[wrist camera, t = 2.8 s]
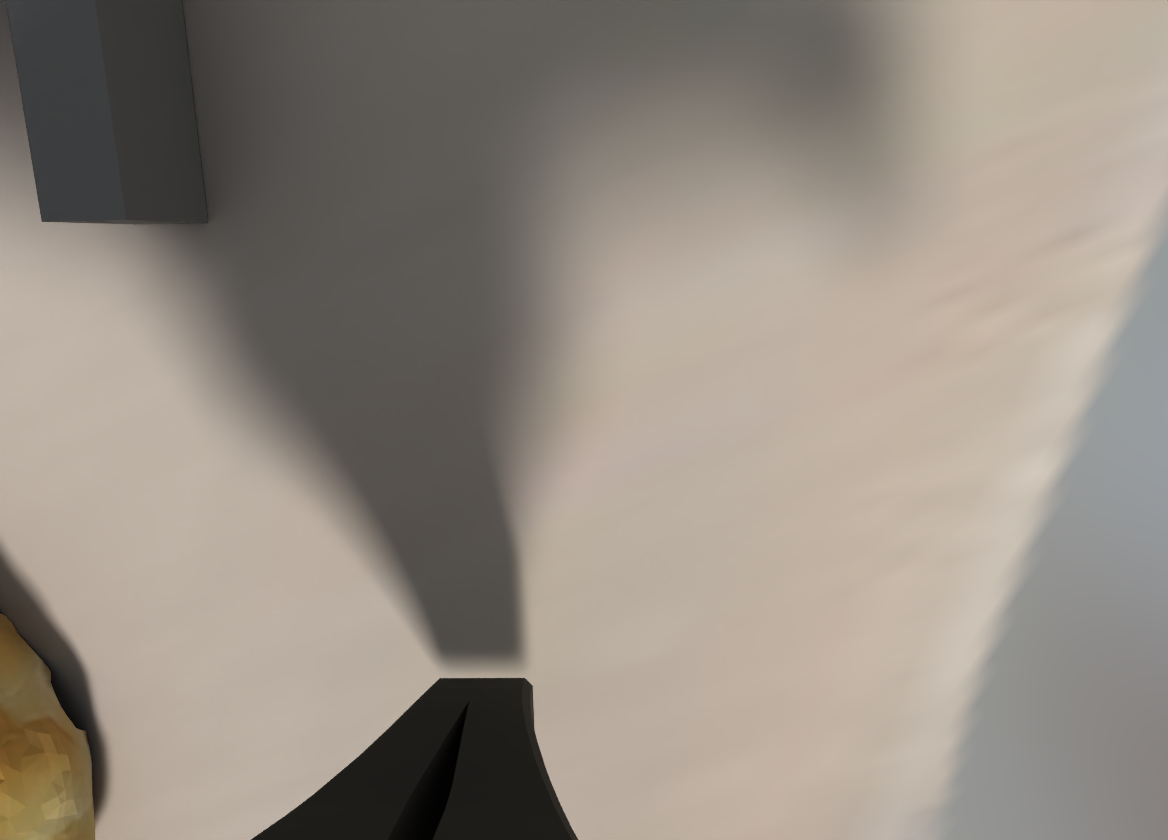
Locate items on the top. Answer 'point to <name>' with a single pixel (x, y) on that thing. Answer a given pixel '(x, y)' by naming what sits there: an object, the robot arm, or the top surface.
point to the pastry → (39, 752)
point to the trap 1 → (109, 110)
